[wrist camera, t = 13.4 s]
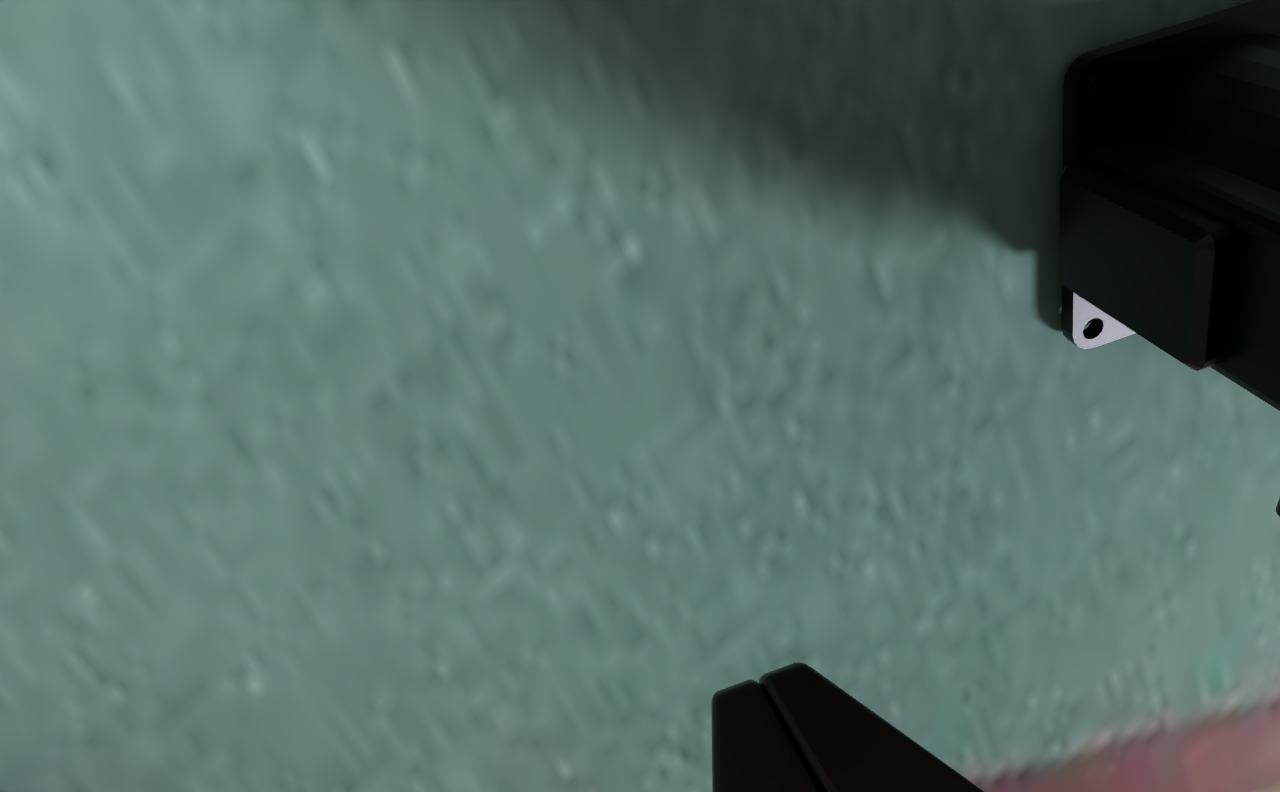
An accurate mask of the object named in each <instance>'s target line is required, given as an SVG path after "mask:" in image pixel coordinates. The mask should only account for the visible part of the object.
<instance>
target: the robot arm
mask: <svg viewBox="0 0 1280 792" xmlns="http://www.w3.org/2000/svg"><path fill="white" fill-rule="evenodd" d="M1096 71H1098V78H1097V82H1096V83H1095V85H1094V86H1093V87H1092V88H1091V89H1089V90H1088V87H1087V86H1088V82H1089V79H1090V77H1091V76H1092V75H1093V73H1094V72H1096ZM1059 280H1060V283H1061V284H1062V330H1063V335H1064V336H1065V337H1066V338H1067V339H1068V340H1069V341H1071V342H1072V343H1073V344H1075V345H1076V346H1078V347H1080V348H1083V349H1089V348H1094V347H1097V346H1100V345H1103V344H1106V343H1109V342H1112V341H1115V340H1118V339H1120V338H1123V337H1126V336H1129V335H1132V334H1135V333H1137V334H1139V335H1140V336H1142V337H1143V338H1145V339H1146V340H1148V341H1149V342H1151V343H1152V344H1154V345H1156V346H1157V347H1159V348H1160V349H1162V350H1163V351H1165V352H1166V353H1168V354H1170V355H1171V356H1173V357H1174V358H1176V359H1177V360H1179V361H1180V362H1182V363H1183V364H1185V365H1187V366H1188V367H1190V368H1191V369H1194V370H1197V371H1199V370H1201V369H1204V368H1207V367H1211V368H1213V369H1214V370H1216V371H1217V372H1219V373H1221V374H1222V375H1224V376H1225V377H1227V378H1228V379H1230V380H1232V381H1233V382H1235V383H1236V384H1238V385H1240V386H1241V387H1243V388H1244V389H1246V390H1248V391H1249V392H1251V393H1252V394H1254V395H1255V396H1257V397H1259V398H1260V399H1262V400H1263V401H1265V402H1267V403H1268V404H1270V405H1271V406H1273V407H1274V408H1276V409H1278V410H1279V411H1280V0H1257V1H1254V2H1250V3H1247V4H1244V5H1241V6H1237V7H1234V8H1231V9H1228V10H1224V11H1221V12H1218V13H1214V14H1211V15H1208V16H1205V17H1201V18H1198V19H1195V20H1192V21H1188V22H1185V23H1182V24H1179V25H1175V26H1172V27H1169V28H1165V29H1162V30H1159V31H1156V32H1152V33H1149V34H1146V35H1143V36H1139V37H1136V38H1133V39H1129V40H1126V41H1123V42H1120V43H1116V44H1113V45H1110V46H1107V47H1103V48H1100V49H1097V50H1094V51H1090V52H1087V53H1085V54H1083V55H1081V56H1079V57H1078V58H1077V59H1076V60H1075V61H1074V62H1073V63H1072V64H1071V65H1070V67H1069V69H1068V71H1067V73H1066V75H1065V80H1064V95H1063V172H1062V175H1061V178H1060V235H1059ZM1090 320H1092V321H1091V324H1090V325H1089V326H1088V328H1086V329H1085V330H1083V329H1084V326H1085V325H1086V324H1087V323H1088V321H1090ZM1276 512H1277V514H1278V515H1279V516H1280V499H1279V501H1278V504H1277V507H1276ZM712 774H713V792H984V791H983V790H981V789H980V788H979V787H977V786H976V785H974V784H973V783H972V782H970V781H969V780H967V779H966V778H965V777H963V776H962V775H960V774H959V773H958V772H956V771H955V770H954V769H952V768H951V767H949V766H948V765H947V764H945V763H944V762H942V761H941V760H940V759H938V758H937V757H935V756H934V755H933V754H931V753H930V752H928V751H927V750H926V749H924V748H923V747H921V746H920V745H919V744H917V743H916V742H914V741H913V740H912V739H910V738H909V737H907V736H906V735H905V734H903V733H902V732H901V731H899V730H898V729H896V728H895V727H894V726H892V725H891V724H889V723H888V722H887V721H885V720H884V719H882V718H881V717H880V716H878V715H877V714H875V713H874V712H873V711H871V710H870V709H868V708H867V707H866V706H864V705H863V704H861V703H860V702H859V701H857V700H856V699H854V698H853V697H852V696H850V695H849V694H847V693H846V692H845V691H843V690H842V689H841V688H839V687H838V686H836V685H835V684H834V683H832V682H831V681H829V680H828V679H827V678H825V677H824V676H822V675H821V674H820V673H818V672H817V671H815V670H814V669H813V668H811V667H810V666H808V665H806V664H804V663H799V662H798V663H793V664H790V665H788V666H785V667H782V668H780V669H777V670H774V671H771V672H769V673H766V674H764V675H763V676H762V677H761V678H760V679H759V683H757V682H756V681H754V680H747V681H744V682H742V683H739V684H736V685H733V686H731V687H728V688H725V689H723V690H720V691H718V692H716V693H715V694H714V695H713V698H712Z"/></svg>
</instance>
